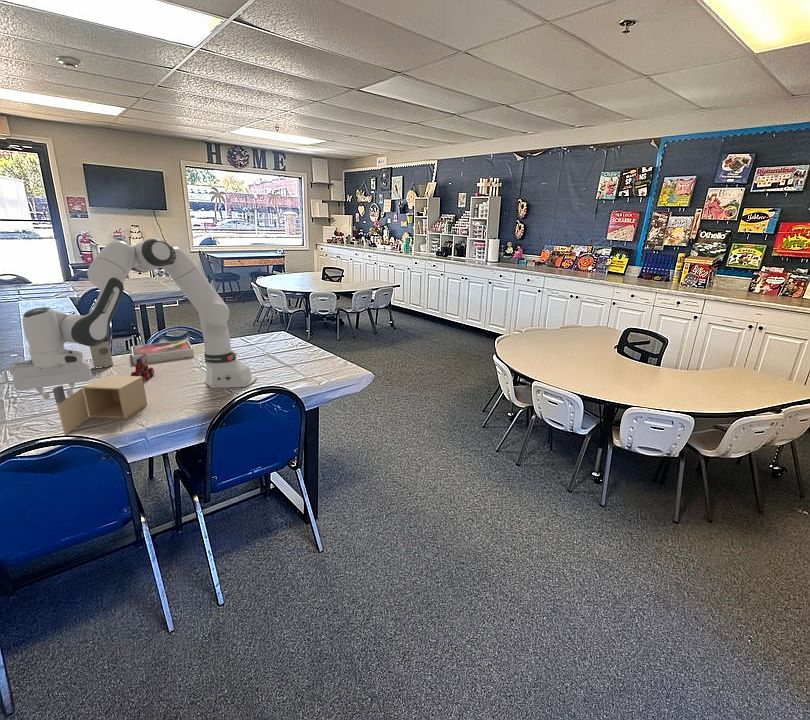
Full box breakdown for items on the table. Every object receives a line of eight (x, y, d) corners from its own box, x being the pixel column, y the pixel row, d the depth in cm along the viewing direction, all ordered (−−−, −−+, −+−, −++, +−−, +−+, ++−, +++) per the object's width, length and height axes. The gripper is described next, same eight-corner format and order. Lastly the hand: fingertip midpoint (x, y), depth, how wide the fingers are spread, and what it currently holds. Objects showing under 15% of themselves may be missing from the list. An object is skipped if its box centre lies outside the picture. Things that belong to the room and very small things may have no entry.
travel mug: (93, 365, 214) (85, 331, 209) (111, 362, 219) (105, 329, 214) (95, 369, 209) (87, 334, 203) (114, 366, 214) (107, 332, 208)
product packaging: (132, 354, 234) (131, 346, 233) (188, 348, 249) (187, 339, 248) (134, 365, 217) (132, 356, 216) (194, 357, 232) (192, 348, 231)
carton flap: (67, 434, 145) (56, 389, 140) (63, 434, 145) (52, 389, 140) (89, 417, 158) (80, 375, 153) (86, 417, 158) (76, 375, 153)
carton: (147, 404, 171) (142, 376, 167) (125, 418, 158) (119, 388, 155) (114, 403, 171) (108, 375, 168) (89, 416, 159) (82, 387, 155)
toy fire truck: (129, 383, 193) (125, 361, 190) (140, 374, 204) (136, 353, 201) (146, 382, 194) (142, 360, 191) (156, 373, 206) (152, 352, 203)
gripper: (4, 365, 130) (16, 406, 135) (86, 356, 141) (94, 394, 145) (9, 359, 135) (20, 399, 140) (87, 351, 146) (95, 388, 150)
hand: (58, 396), depth 142 cm, fingers open, 5 cm apart
